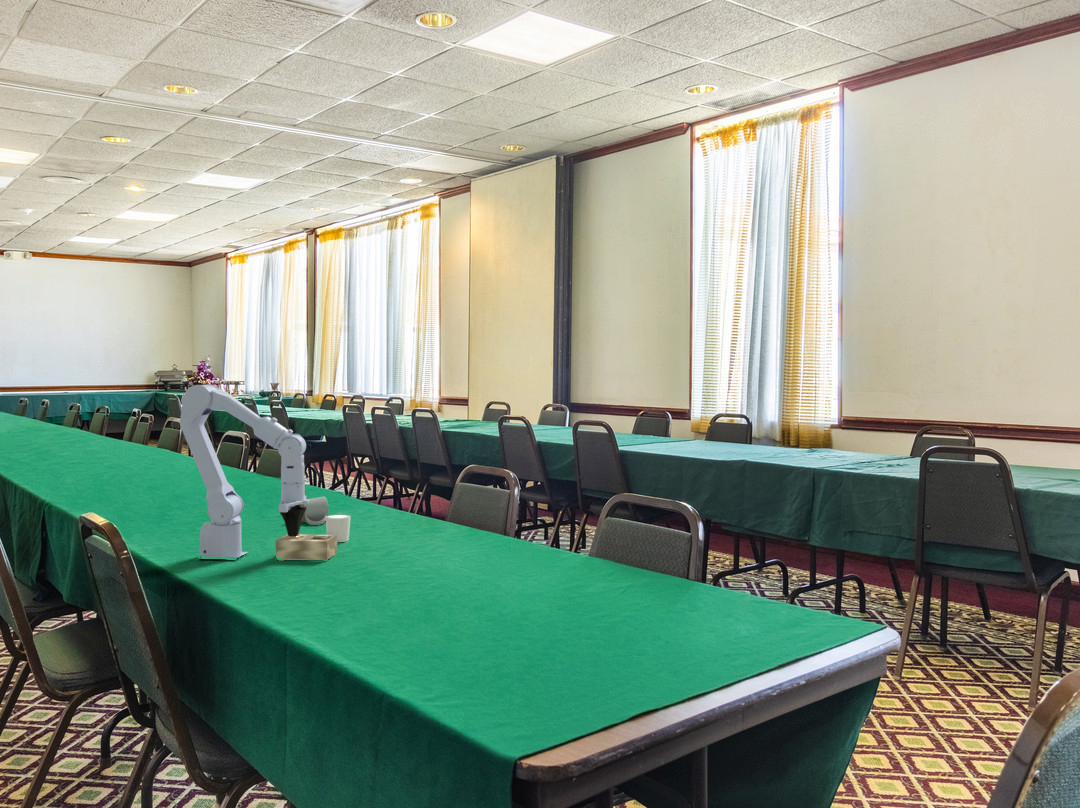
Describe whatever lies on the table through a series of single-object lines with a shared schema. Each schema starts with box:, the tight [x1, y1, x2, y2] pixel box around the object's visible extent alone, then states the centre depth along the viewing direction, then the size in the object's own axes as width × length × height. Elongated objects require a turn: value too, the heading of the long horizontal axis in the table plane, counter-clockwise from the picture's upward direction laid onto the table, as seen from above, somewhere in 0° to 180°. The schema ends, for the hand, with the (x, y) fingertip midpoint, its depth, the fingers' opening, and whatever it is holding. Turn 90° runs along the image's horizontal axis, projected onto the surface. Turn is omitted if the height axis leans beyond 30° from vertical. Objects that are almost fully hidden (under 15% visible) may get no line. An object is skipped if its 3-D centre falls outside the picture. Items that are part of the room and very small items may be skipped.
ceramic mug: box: [300, 496, 329, 526], centre depth 262 cm, size 11×8×8 cm
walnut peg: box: [313, 536, 328, 540], centre depth 215 cm, size 4×4×5 cm
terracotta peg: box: [286, 534, 301, 539], centre depth 215 cm, size 4×4×5 cm
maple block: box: [275, 533, 338, 561], centre depth 215 cm, size 13×8×5 cm, turn 87°
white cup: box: [325, 514, 352, 543], centre depth 235 cm, size 7×7×7 cm
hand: (293, 535), depth 215 cm, fingers closed, pressing on terracotta peg
